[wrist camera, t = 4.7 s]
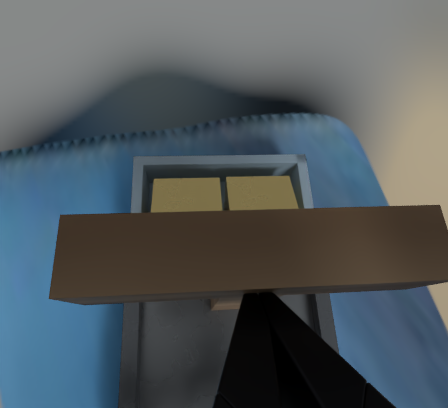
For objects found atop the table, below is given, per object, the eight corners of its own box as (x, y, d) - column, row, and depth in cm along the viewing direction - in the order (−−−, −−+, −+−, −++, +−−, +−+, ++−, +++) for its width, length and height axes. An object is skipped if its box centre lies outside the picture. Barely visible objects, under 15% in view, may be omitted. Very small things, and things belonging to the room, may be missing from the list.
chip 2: (292, 255, 20) (304, 227, 18) (228, 258, 19) (231, 229, 17) (280, 206, 22) (289, 175, 20) (223, 207, 22) (225, 176, 20)
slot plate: (332, 446, 18) (358, 469, 15) (127, 465, 17) (113, 493, 14) (306, 262, 21) (322, 252, 19) (136, 268, 20) (126, 260, 18)
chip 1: (221, 258, 20) (224, 231, 17) (155, 261, 19) (148, 233, 17) (217, 207, 22) (219, 177, 20) (159, 209, 22) (153, 178, 19)
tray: (304, 257, 21) (320, 247, 19) (138, 264, 21) (128, 254, 18) (292, 174, 24) (305, 154, 21) (141, 177, 23) (133, 156, 20)
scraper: (315, 304, 18) (462, 279, 8) (137, 314, 17) (48, 298, 7) (307, 250, 19) (427, 165, 9) (140, 256, 19) (65, 171, 8)
